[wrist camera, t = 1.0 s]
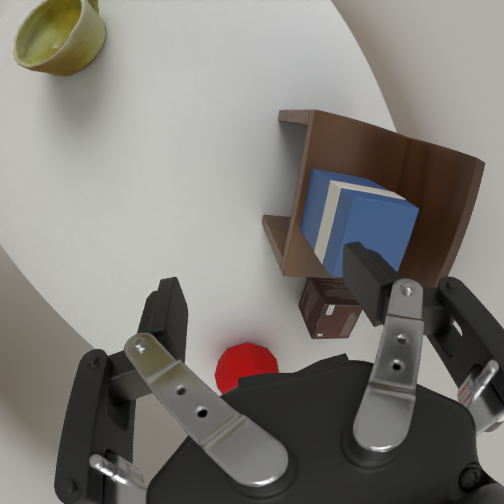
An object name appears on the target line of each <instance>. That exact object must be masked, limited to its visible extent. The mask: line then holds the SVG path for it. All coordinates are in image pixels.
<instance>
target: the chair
mask: <svg viewBox="0 0 504 504" xmlns="http://www.w3.org/2000/svg"><path fill="white" fill-rule="evenodd" d="M278 120H279V121H285V122H291V123H297V124H302V125H307V126H308V127H307V133H306V139H305V145H304V151H303V156H302V162H301V167H300V173H299V178H298V184H297V189H296V194H295V200H294V205H293V210H292V215H291V217H282V216H271V215H263V220H262V225H263V227H264V230H265V232H266V234H267V237H268V239H269V242H270V244H271V247H272V249H273V252H274V254H275V257H276V259H277V262H278V264H279V267H280V269H281V272H282V274H283V276H293V277H322V278H343V277H331V276H330V274H329V272H328V271H327V269H326V268H325V266H324V265H323V264H321V262H320V261H319V259H318V257H317V256H316V254H315V253H314V250H313V248H312V247H311V245H310V244H309V242H308V241H307V239H306V238H305V236H304V235H303V233H302V232H301V230H300V226H301V221H302V216H303V211H304V206H305V201H306V196H307V191H308V186H309V181H310V175H311V170H312V169H317V170H323V171H329V172H335V173H340V174H346V175H351V176H356V177H361V178H366V179H369V180H370V181H372V182H374V183H376V184H378V185H380V186H382V187H383V188H385V189H387V190H389V191H391V192H394V193H396V194H398V195H399V196H401V197H403V198H404V199H405V200H406V201H408V202H410V203H411V204H413V205H415V206H416V207H418V208H419V211H418V214H417V217H416V221H415V224H414V227H413V230H412V233H411V236H410V239H409V242H408V245H407V248H406V250H405V253H404V256H403V259H402V261H401V264H400V266H399V269H398V272H397V273H398V274H399V275H400V276H401V277H402V278H403V279H404V278H407V279H412V280H415V281H417V282H418V283H419V284H420V285H421V286H422V288H435V287H437V285H438V281H439V280H440V279H441V278H443V277H448V274H449V272H450V270H451V268H452V265H453V263H454V261H455V258H456V256H457V253H458V250H459V248H460V246H461V243H462V240H463V238H464V235H465V232H466V229H467V227H468V224H469V221H470V218H471V215H472V211H473V208H474V205H475V202H476V198H477V195H478V191H479V187H480V183H481V179H482V175H483V171H484V167H485V162H483V161H481V160H480V159H478V158H476V157H473V156H470V155H467V154H464V153H461V152H458V151H455V150H452V149H449V148H446V147H442V146H439V145H436V144H432V143H428V142H425V141H421V140H417V139H413V138H409V137H406V136H404V135H401V134H398V133H395V132H392V131H390V130H387V129H384V128H381V127H378V126H375V125H371V124H368V123H365V122H361V121H358V120H355V119H351V118H347V117H344V116H340V115H336V114H332V113H328V112H324V111H320V110H280V111H279V117H278Z"/></svg>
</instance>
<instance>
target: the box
mask: <svg viewBox="0 0 504 504" xmlns="http://www.w3.org/2000/svg"><path fill="white" fill-rule="evenodd" d="M299 309H300V311H301V314H302V316H303V319H304V321H305V324H306V326H307V328H308V331H309V334H310V336H311V338H312V339H332V338H348V337H349V335H350V333H351V331H352V329H353V327H354V325H355V324H356V322H357V320H358V318H359V315H360V314H361V311H362V307H361V306H360V304H359V303H358V301H357V300H356V298H355V297H354V295H353V294H352V292H351V291H350V289H349V288H348V286H347V285H346V283H345V281H344V278H322V277H308V280H307V283H306V285H305V289H304V291H303V294H302V297H301V300H300V303H299Z"/></svg>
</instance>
